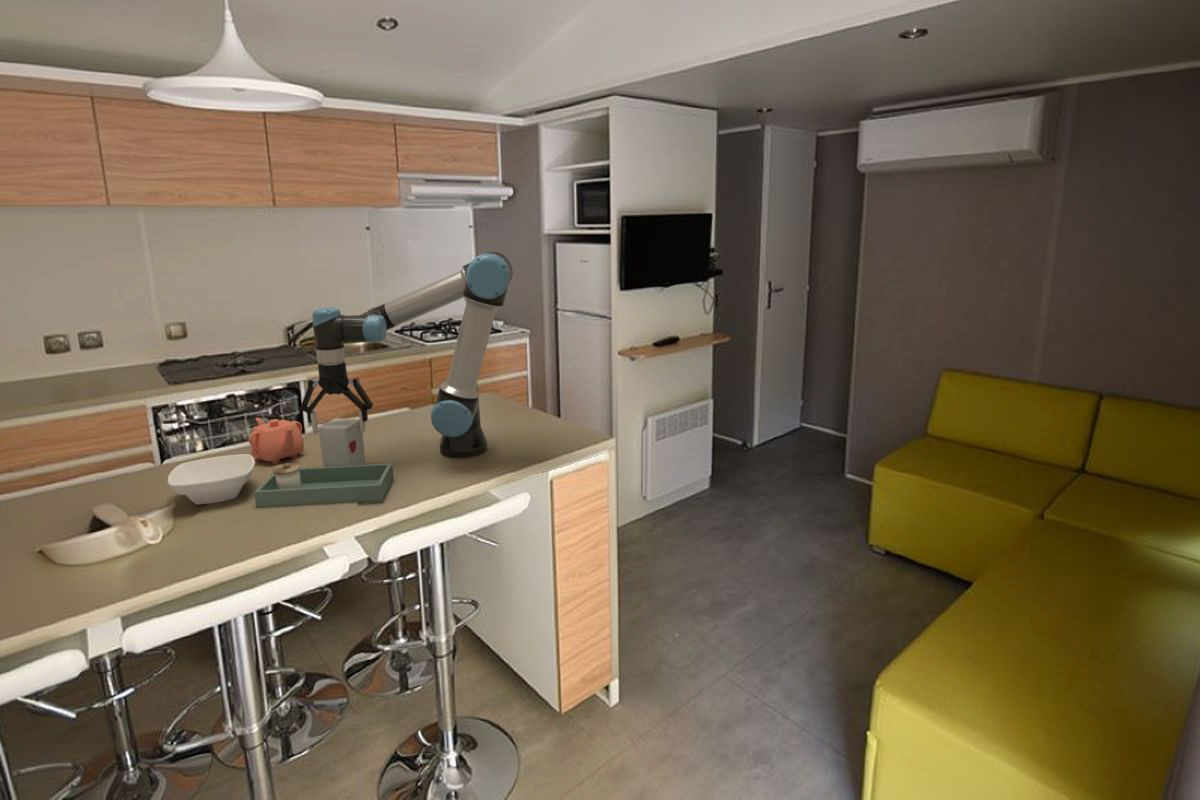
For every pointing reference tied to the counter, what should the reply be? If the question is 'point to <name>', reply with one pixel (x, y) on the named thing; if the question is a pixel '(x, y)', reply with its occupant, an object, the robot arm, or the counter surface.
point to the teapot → (276, 440)
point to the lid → (286, 468)
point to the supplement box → (342, 443)
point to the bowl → (212, 478)
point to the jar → (289, 481)
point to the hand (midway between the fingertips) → (339, 432)
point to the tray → (330, 486)
